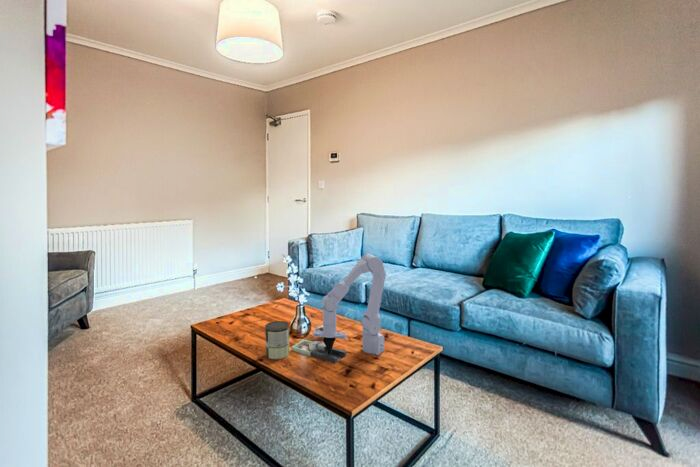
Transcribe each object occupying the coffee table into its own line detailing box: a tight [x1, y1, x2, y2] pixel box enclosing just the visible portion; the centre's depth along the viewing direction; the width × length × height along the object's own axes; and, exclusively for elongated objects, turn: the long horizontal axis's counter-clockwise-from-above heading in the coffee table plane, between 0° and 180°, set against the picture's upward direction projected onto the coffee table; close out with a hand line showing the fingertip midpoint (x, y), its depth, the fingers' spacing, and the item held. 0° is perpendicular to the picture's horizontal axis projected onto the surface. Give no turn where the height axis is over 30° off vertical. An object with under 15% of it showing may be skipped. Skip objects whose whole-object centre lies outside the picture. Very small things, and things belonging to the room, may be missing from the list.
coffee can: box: [264, 320, 290, 360], centre depth 162 cm, size 10×10×14 cm
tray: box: [291, 339, 312, 357], centre depth 168 cm, size 11×9×2 cm
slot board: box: [310, 347, 347, 364], centre depth 161 cm, size 13×9×3 cm
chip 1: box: [308, 340, 323, 352], centre depth 165 cm, size 4×4×4 cm
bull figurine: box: [314, 324, 323, 339], centre depth 181 cm, size 4×13×8 cm, turn 152°
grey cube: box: [317, 341, 328, 354], centre depth 163 cm, size 4×4×4 cm
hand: (329, 353), depth 161 cm, fingers closed
